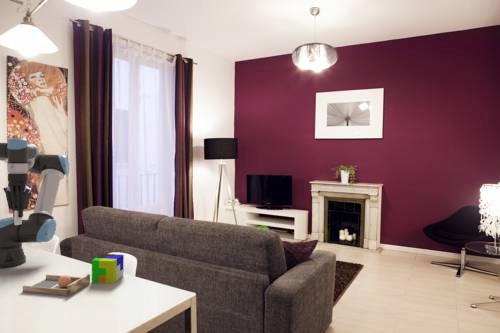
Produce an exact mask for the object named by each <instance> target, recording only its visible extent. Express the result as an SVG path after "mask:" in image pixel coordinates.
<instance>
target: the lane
mask: <svg viewBox="0 0 500 333" xmlns="http://www.w3.org/2000/svg"><path fill="white" fill-rule="evenodd" d="M73 282H74V281H71V283H73ZM71 283H70V284H71ZM90 284H91V281H90V282H89V283H88V284H86V285H84V286H83V287H81V288H79V289H78V290H76V291H75V292H73V293H71V294H70V295H66V294H55V293H44V292H33V291H23V290H22V293H27V294H28V293H31V294H42V295H50V296H51V295H53V296H63V297H64V296H65V297H70V296H72V295H74V294H75V293H77V292H79V291H81V290H82V289H83V288H85V287H87V286H88V285H90ZM32 286H35V287H46V288H58V289H67V287H60V286H59V285H58V280H51V279H46V278H45V279H43V280H40V281H39V282H37V283H35V284H33V285H32Z"/></svg>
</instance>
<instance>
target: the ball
mask: <svg viewBox="0 0 500 333" xmlns="http://www.w3.org/2000/svg"><path fill="white" fill-rule="evenodd" d="M60 276H61V277H60V278H59V279H58V285H59V286H60V287H67V286H68V285H69V284H70V283H71V278H70V277H69V275H67V274H63V275H60Z"/></svg>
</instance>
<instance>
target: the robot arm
mask: <svg viewBox="0 0 500 333" xmlns="http://www.w3.org/2000/svg"><path fill="white" fill-rule="evenodd" d="M39 152H40V150H39V147H38V146H37V145H36V144H34V143H31V142H28V140H27V138H9V139H8V140H7V142H0V161H1V162H4V163H7V172H8V174H7V181H8V186H6V187H3V188H2V190H3V192H4V193H5V197H6V203H7V206H8V209H9V210H12V216H11V217H5V218H2V219H0V269H3V268H11V267H16V266H21V265H22V264H25V263H27V262H26V261H27V257H26V256H27V255H25V252H24V248H23V243H25V244H26V243H27V244H28V243H30V244H31V243H33V244H35V243H38V244H40V243H41V244H42V243H48V242H50V241H51V240H52V239H53V238H54V235H55V234H56V230H57V228H56V227H57V222H56V220H55V217H54V216H53V215H52V214H53V210H54V208H55V207H54V205H55V203H56V202H55V201H56V198H57V194H58V191H59V187H60V182H61V181H62V180H63V179H64V178H65V176H67V175H69V174H70V162H69V158H68V156H67V155H65V154H60V153H59V154H41V153H40V154H39ZM28 173H31V174H34V175H41V176H42V180H41V185H40V188H39V192H38V195H37V197H36V198H37V199H36V202H35V206H34V209H33V212H32V213H30V214H29V215H28V218H27V219H23V217H24V210H26V209H28V207H29V203H30V197H31V193H32V191H33V190H34V189H33V188H32V187H31V188H30V187H29V186H28V180H29V176H28V175H29V174H28Z"/></svg>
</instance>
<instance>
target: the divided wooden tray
mask: <svg viewBox="0 0 500 333" xmlns="http://www.w3.org/2000/svg"><path fill="white" fill-rule="evenodd" d="M61 276H62V275H56V274H46V275H45V279H51V280H58V279H59V278H60V277H61ZM68 276H69V275H68ZM69 277H70V278H71V281H74V282H73V283H71V284H69V285H68V286H67V289H58V288H46V287H35V286H33V285H22V292H23V291H33V292H44V293H55V294H66V295H70V294H71V293H73V292H75V291H76V290H78V289H79V288H81V287H83V286H84V285H86V284H88V283H89V282H90V283H91V273H87V274H85V275H83V276H81V277H80V276H71V275H70V276H69ZM88 285H89V284H88ZM83 288H84V287H83ZM78 291H79V290H78ZM75 293H76V292H75ZM70 296H71V295H70Z"/></svg>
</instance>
